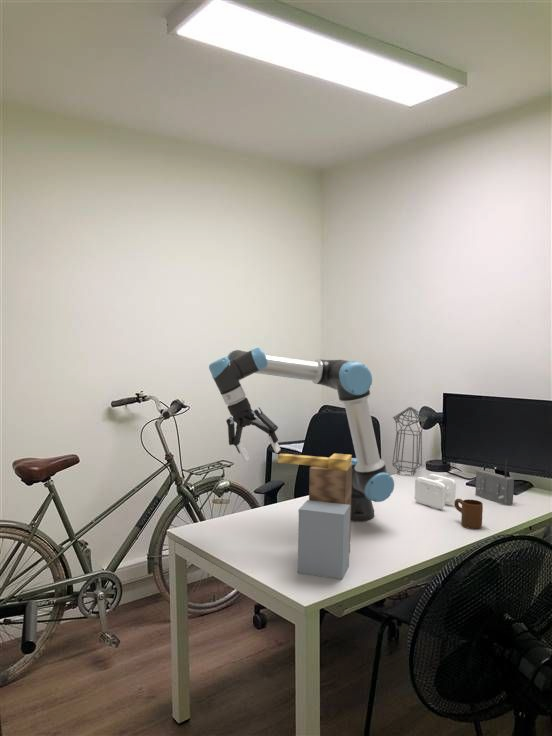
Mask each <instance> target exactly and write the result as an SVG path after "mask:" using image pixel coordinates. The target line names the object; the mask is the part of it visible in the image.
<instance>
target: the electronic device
mask: <svg viewBox="0 0 552 736" xmlns="http://www.w3.org/2000/svg"><path fill="white" fill-rule="evenodd" d="M507 469H508V459H507V458H505V465H504V475H502V474H498V473H496V472H490V471H487V470H484V469H479V470H475V471H476V473H475V492H474V493H475V495H474V496H476V497H479V496H480V498H482V499H486V500H489V501H492V502H495V503H499V504H502V505H504V506H511V504H512V505H513V504H514V487H515V478H513V477H510V476H507V475H508V474H507V473H508V472H507V471H508V470H507Z"/></svg>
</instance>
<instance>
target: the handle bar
mask: <svg viewBox="0 0 552 736" xmlns="http://www.w3.org/2000/svg"><path fill="white" fill-rule="evenodd" d="M352 456H353V455H352V454H346V453H345V454H344V453H333V454H332V455H330V456H329V457H326V456H315V455H314V456H313V455H303V454H292V453H291V454H290V453H279V454H278V455H277V463H278V464H290V465H302V466H309V467H311V466H321V467H328V469H332V470H343V471H347V470H348V469H349V468H350V466H351V463H352V458H353V457H352Z"/></svg>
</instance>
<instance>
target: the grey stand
mask: <svg viewBox="0 0 552 736" xmlns="http://www.w3.org/2000/svg"><path fill="white" fill-rule="evenodd" d="M297 530H298V533H297V534H298V539H297V541H298V542H297V543H298V544H297V573H298V574H304V575H309V576H310V575H311V576H318V577H325V578H331V579H338V580H343V579H344V577H345V574H346V573H347V571H348V569H349V568H350V553H349V539H350V540H351V530H350V505H347V504H338V503H329V502H320V501H311V500H309V499H307V500H306V501H305V502H304V503H303V504H302V505H301V506H300V508H298V529H297Z"/></svg>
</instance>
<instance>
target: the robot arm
mask: <svg viewBox="0 0 552 736" xmlns="http://www.w3.org/2000/svg"><path fill="white" fill-rule="evenodd" d="M208 366H209V367H208V370H209V372H210V373H211V378H212V380H213V381H214V383H215V385H216V387H217V389H218V390H219V392H220V395H221V397H222V400H223V401H224V403H225V405H227V406H226V407H227V410H228V412H229V413H230V417H228V418H227V419H226V420H225V421H226V424H227V431H228V432H227V433H228V436H227V437H228V444H229V446H235V448H236V450H237V452H238V453H239V454H240V455H241V457H242V460H243V462H244V463H246V462H248V461H249V460H250V458H251V457H250V456H249V453H248V451H247V449H246V447H245V445H244V443H243V441H241V438H242V433H243V428H246V427H248V426H254V427H256V428H258V429H259V430H261V431H262V432H264V433H266V434H268V435H267V438H268V440H269V442H270V444H271V447H272V449H273V450H274V453H275V454H278V453H279V452H280V451H281V446H280V444H279V443H278V441H279V439H278V437H277V434H276V431H277V430H278V429H279V427H278V426H277V424H275V422H274V421H272V420H271V419H270V418H269V417H268V416H267V415H266V414H265V413H264V412H263V411H262V408H261V407H257V408H255V409H254V410H253V409H252V407H251V403H250V402H249V399H248V398H247V396H246V395H247V394H246V393H245V391H244V389H243V388H244V387H242V384H241V382H240V381H241V380H243V379H245V378H247V377H249V376H251V375H254V374H257V375H258V374H259V375H267V376H274V377H280V378H281V377H282V378H287V379H288V378H290V379H295V380H296V379H297V380H305V381H311V382H312V383H313V384H315V385H321V386H324V387H328V388H331V389H333V390H337V391H336V392H337V394H338V400H339V402H342V403H343V404H344V408H345V413H346V417H347V421H348V427H349V430H350V435H351V439H352V444H353V449H354V453H355V457H352V463H351V465H352V487H351V521H354V522H355V521H356V522H357V521H358V522H362V521H368V520H372V519H373V518H375V508H374V504H373V502H375V503H382V502H384V501H386V500H387V499H389V498H390V496H391V495H392V493H393V492H394V490H395V480H394V478H393V477H392V475H391V474H390V473H388V471H387V466H386V463H385V460H383V459H381V458H380V453H379V449H378V445H377V439H376V434H375V431H374V425H373V420H372V416H371V415H372V414H371V411H370V406H369V401H368V398H369V397H370V395H371V390H370V388H371V386H372V383H373V376H372V373H371V371H370V369H369V367H368V366H366V365H365V364H363V363H361V362H359V361H356V360H344V359H319V358H317V359H315V360H308V359H301V358H295V357H294V358H293V357H288V356H280V355H274V354H273V355H272V354H266V353H265V352H264V351H263V349H262V348H260V347H255V348H253V349H252V348H251V349H250V350H249V351H245V350H240V349H235V350H232V351H230V352H229V353H228V354H227V356H224V357H221V358H219V359H217V360H215V361H213V362H212V363H210V364H209V365H208ZM235 423H236V427H235Z"/></svg>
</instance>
